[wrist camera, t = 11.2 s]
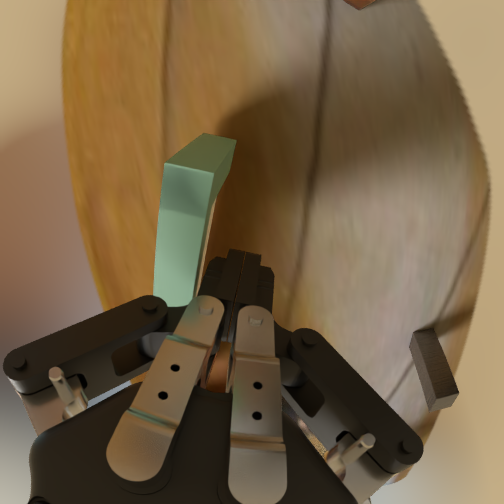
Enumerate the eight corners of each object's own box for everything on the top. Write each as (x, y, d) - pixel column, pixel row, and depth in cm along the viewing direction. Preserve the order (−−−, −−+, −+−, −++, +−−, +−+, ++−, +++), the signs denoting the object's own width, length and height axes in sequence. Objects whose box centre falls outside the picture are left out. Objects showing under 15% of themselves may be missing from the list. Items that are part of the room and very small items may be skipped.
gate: (193, 356, 25) (177, 416, 20) (173, 351, 25) (154, 409, 20) (236, 140, 15) (214, 173, 10) (203, 132, 15) (164, 162, 10)
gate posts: (175, 367, 27) (148, 458, 19) (165, 348, 26) (132, 444, 18) (427, 346, 24) (458, 439, 15) (434, 325, 22) (472, 423, 14)
